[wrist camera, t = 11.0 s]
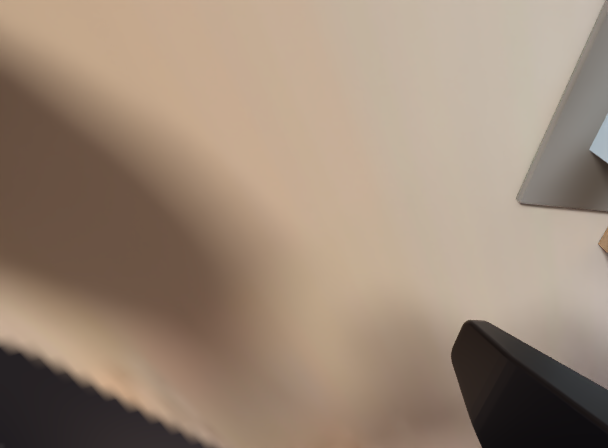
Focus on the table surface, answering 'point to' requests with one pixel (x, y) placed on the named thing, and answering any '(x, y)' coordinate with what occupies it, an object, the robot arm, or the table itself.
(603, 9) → the brown angular stand
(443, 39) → the table surface
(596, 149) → the pale blue beveled prism
